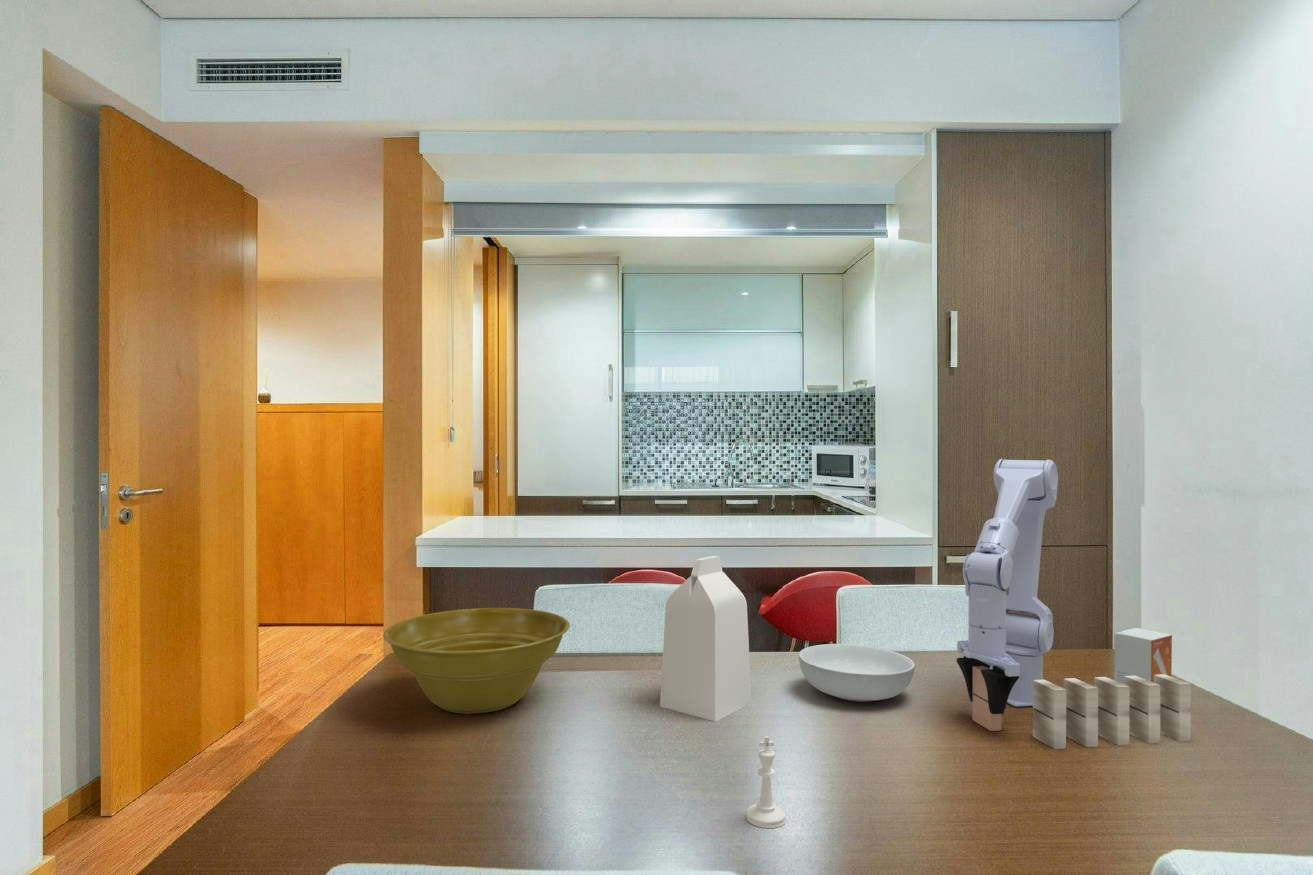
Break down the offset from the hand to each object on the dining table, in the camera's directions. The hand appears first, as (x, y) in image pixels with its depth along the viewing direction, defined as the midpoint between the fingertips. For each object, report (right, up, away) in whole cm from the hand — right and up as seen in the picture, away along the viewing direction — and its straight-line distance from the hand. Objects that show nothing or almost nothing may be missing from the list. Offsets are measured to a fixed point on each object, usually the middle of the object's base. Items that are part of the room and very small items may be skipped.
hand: (986, 707), depth 125 cm
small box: (+33, -4, +10) cm, 35 cm away
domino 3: (+18, -3, -5) cm, 19 cm away
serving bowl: (-18, -3, +15) cm, 24 cm away
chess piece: (-41, -2, -32) cm, 52 cm away
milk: (-46, -3, +9) cm, 47 cm away
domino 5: (+28, -3, -3) cm, 29 cm away
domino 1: (+7, -3, -7) cm, 10 cm away
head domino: (0, -3, 0) cm, 3 cm away
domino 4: (+23, -3, -4) cm, 24 cm away
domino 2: (+12, -3, -6) cm, 14 cm away
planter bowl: (-87, -2, +9) cm, 87 cm away
